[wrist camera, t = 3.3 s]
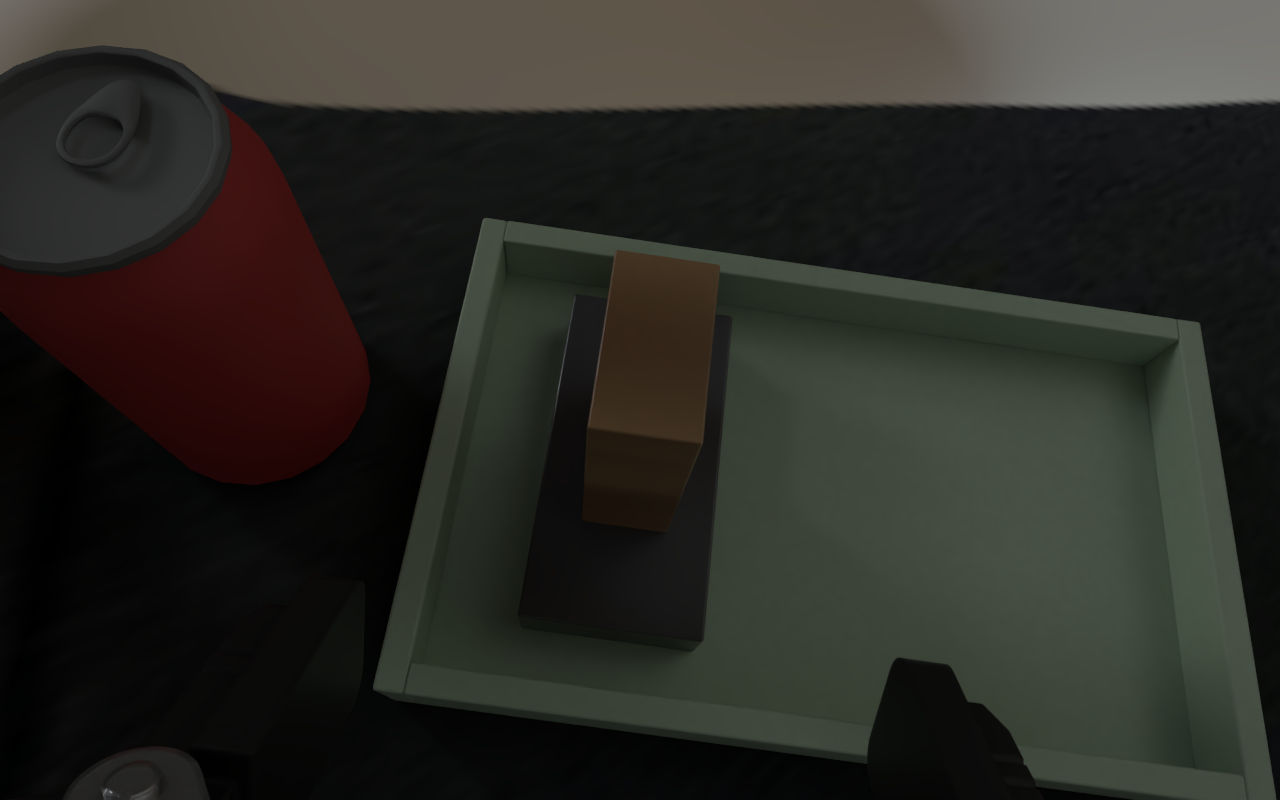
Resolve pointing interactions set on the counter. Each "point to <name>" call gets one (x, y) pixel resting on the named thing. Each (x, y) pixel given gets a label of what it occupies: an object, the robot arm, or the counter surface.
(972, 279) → the counter surface
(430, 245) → the counter surface
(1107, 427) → the tray
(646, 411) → the eraser
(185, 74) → the beer can
